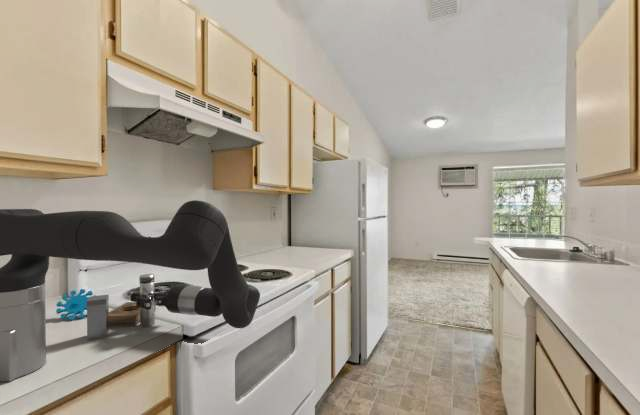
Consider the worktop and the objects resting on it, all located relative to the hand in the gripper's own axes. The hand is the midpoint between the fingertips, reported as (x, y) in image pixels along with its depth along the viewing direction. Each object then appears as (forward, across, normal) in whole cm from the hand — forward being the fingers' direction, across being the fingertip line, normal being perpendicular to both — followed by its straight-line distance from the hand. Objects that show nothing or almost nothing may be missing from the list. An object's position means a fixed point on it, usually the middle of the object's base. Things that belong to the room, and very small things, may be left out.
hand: (140, 294), depth 88 cm
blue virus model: (+23, -1, -9) cm, 24 cm away
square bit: (+3, -10, -8) cm, 13 cm away
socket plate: (+6, +2, -8) cm, 11 cm away
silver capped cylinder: (-3, 0, -8) cm, 9 cm away
